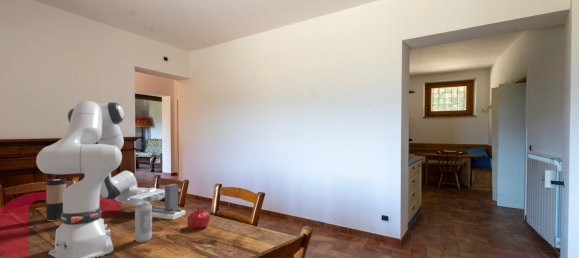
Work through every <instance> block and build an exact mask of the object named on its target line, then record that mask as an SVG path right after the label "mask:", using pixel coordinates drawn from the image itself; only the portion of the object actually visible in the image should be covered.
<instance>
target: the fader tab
mask: <svg viewBox="0 0 579 258" xmlns="http://www.w3.org/2000/svg"><path fill="white" fill-rule="evenodd" d="M164 190H165V197H164V207H165V210H166V211H175V212H176V211H178V207H179V184H178V183H171V184H167V185H164Z"/></svg>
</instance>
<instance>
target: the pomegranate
mask: <svg viewBox="0 0 579 258" xmlns="http://www.w3.org/2000/svg"><path fill="white" fill-rule="evenodd" d="M196 208H197V209H191V211H192V212H191V213H190V214H189V215H188V217H187V220H186V221H187V227H189V228H190V229H195V230H198V229H204V228H206V227H207V226H208V225H209V224H210V222H211V221H210V220H211V215H210V213H209V212H208V211H206V210H205V209H204V208H203V209H201V208H200V206H196Z"/></svg>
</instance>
